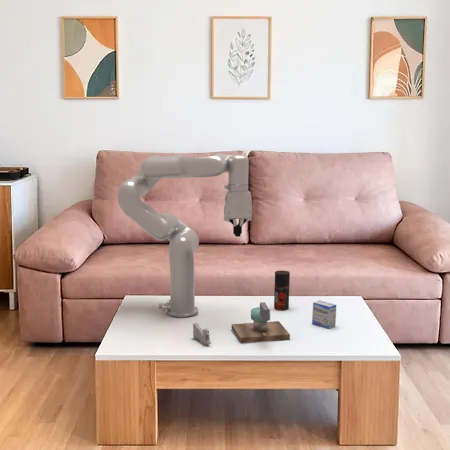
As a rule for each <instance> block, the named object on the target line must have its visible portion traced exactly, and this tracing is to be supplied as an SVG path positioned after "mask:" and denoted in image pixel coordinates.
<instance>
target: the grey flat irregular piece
mask: <svg viewBox="0 0 450 450" xmlns="http://www.w3.org/2000/svg"><path fill="white" fill-rule="evenodd" d="M192 330H193V331H192V337H193V339H194V340H196V339H197V340H198V341H199V342H200V343H201V344H202V345H205V346H206V345H210V344H211V343H212V342H211V340H210V330H209V328H202V327H201V326H200V325H199V323H198V322H193V323H192Z"/></svg>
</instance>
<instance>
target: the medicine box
mask: <svg viewBox="0 0 450 450" xmlns="http://www.w3.org/2000/svg"><path fill="white" fill-rule="evenodd" d="M311 316H312V317H311V323H312V325H314V326H317V327H321V328H324V329H328V330H330V329H333V328H335V327H336V318H337V304H335V303H331V302H327V301H323V300H315V301H313V302H312V315H311Z"/></svg>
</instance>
